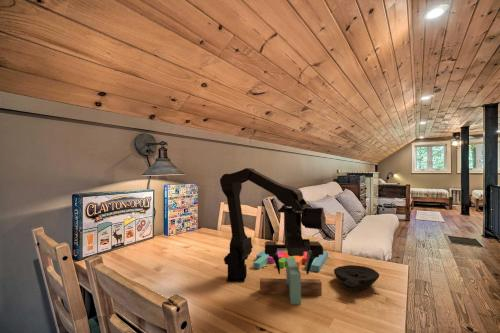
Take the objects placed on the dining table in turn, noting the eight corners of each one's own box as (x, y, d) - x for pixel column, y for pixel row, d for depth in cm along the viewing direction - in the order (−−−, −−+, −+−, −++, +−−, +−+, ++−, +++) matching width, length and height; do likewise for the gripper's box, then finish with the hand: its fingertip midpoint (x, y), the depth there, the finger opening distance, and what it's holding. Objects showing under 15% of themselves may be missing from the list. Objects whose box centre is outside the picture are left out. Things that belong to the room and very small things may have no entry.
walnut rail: (259, 293, 79) (259, 281, 79) (260, 290, 82) (260, 278, 82) (321, 295, 78) (321, 282, 78) (320, 291, 80) (319, 279, 81)
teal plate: (286, 282, 87) (286, 257, 87) (294, 283, 87) (294, 257, 87) (291, 304, 73) (290, 274, 73) (301, 304, 73) (300, 274, 73)
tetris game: (272, 249, 127) (247, 268, 102) (272, 243, 127) (247, 261, 102) (328, 257, 114) (314, 281, 89) (328, 251, 114) (314, 274, 89)
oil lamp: (324, 292, 80) (324, 277, 80) (339, 272, 96) (339, 259, 96) (374, 306, 71) (373, 289, 72) (382, 281, 88) (381, 267, 88)
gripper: (264, 232, 73) (265, 284, 72) (327, 232, 72) (328, 285, 71) (264, 224, 84) (264, 269, 83) (318, 224, 83) (319, 270, 82)
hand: (293, 273), depth 80 cm, fingers open, 9 cm apart
